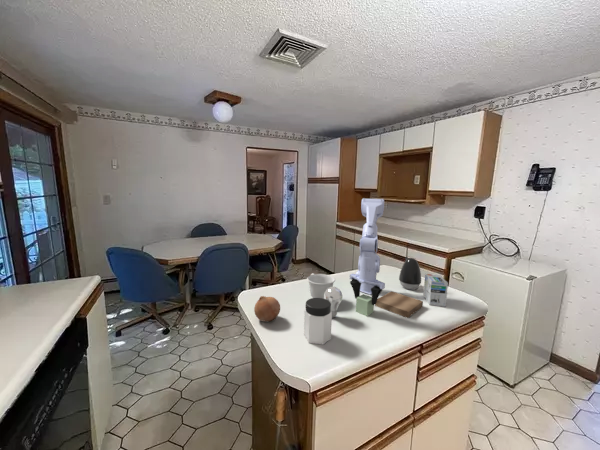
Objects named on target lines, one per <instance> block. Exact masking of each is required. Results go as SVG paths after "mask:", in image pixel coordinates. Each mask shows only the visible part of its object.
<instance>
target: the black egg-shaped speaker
mask: <svg viewBox="0 0 600 450" xmlns="http://www.w3.org/2000/svg"><path fill="white" fill-rule="evenodd" d="M421 272H422V271H421V268H420V264H419V263H418V260H417V259H415V258H413V257H408V256H405V261H404V263H403V265H402V267H401V269H400V273H399V276H398V280H399V284H400V285H401V287H402V288H404V289H407V290H409V291H410V290H416V289H418V288H419V287H420V285H421V284H422V273H421Z"/></svg>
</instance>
